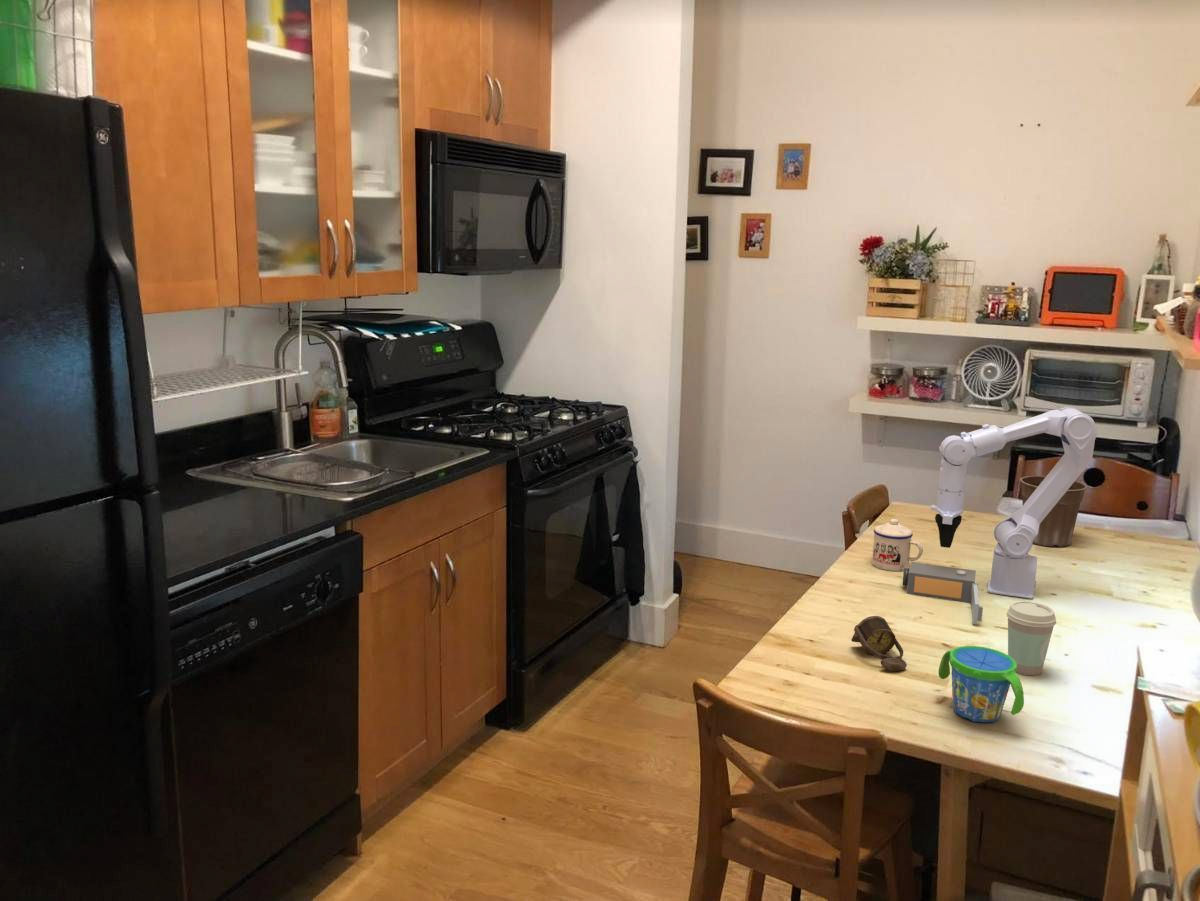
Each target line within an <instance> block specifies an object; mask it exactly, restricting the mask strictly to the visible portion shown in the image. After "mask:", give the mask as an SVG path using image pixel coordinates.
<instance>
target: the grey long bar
mask: <svg viewBox="0 0 1200 901" xmlns="http://www.w3.org/2000/svg"><path fill="white" fill-rule="evenodd" d="M978 588H979V583H977V582H975V583H972V591H971V600H970V603H969V604H971V615H972V617H971V618H972V624H973V625H978V622H982V620H983V619H982V618H983V610H984V607H983V606H982V605H980V599H979V589H978Z"/></svg>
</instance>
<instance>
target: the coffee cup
mask: <svg viewBox="0 0 1200 901" xmlns="http://www.w3.org/2000/svg"><path fill="white" fill-rule="evenodd" d="M1005 615H1006V617H1007V655H1009V656H1010V657H1011V658H1013V659H1014V660H1015V662H1016V663H1017V669H1016V674H1017V673H1018V674H1020V675H1025V676H1039V675H1040V674H1041V673H1042V671H1043V668H1044V664H1045V660H1046V657H1047V654H1048V649H1049V645H1050V642H1051V639H1052V638H1051V637H1052V634H1053V631H1054V626H1055V625H1057V618H1056V615H1055V611H1054V609H1053V608H1051V607H1049V606H1048V605H1045V604H1042V603H1039V602H1034V601H1023V600H1022V601H1021V600H1019V601H1015V602H1012V603H1011V604H1010V606H1009V608H1008V609H1007V612H1006V614H1005Z"/></svg>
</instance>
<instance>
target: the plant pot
mask: <svg viewBox="0 0 1200 901" xmlns="http://www.w3.org/2000/svg"><path fill="white" fill-rule="evenodd" d="M1046 476H1047V475H1028V476H1022V477H1020V479H1019V482H1020V483H1021V495H1022V506H1023V505H1024V503H1025V502H1026V501H1027V500H1028V498H1029V497H1030V496H1031V495H1032V493H1033V492H1034V491H1035V490H1036V488H1037V487H1038V486H1039V485H1040V484H1041V482H1042V481H1043V480H1044V479H1045V477H1046ZM1087 489H1088V486H1087V485H1086V483H1084V482H1081V481H1077V480H1075V482H1074V483H1073V484H1072V485H1071V486H1070V488H1069V489H1068V490H1067V491H1066V493H1065V494H1064V495H1063V496H1062V497H1061V499H1060V500H1059V501H1058V502H1057V504H1056V505H1055V506H1054V507H1053V508H1052V510H1051V511H1050V512H1049V513H1048V515H1047V516H1046V517H1045V518H1044V519H1043V521H1042V522H1041V523H1040V525H1039V530H1038V534H1037V536H1036V537H1035V539H1034V540H1033V543H1032V545H1033V544H1034V545H1038V546H1044V547H1045V546H1046V547H1054V546H1057V547H1060V548H1062V547H1067V546H1070V545H1071V544H1072V539H1073V534H1074V531H1075V527H1076V526H1075V525H1076V523H1077V519H1078V515H1079V509H1080V506H1081V503H1082V502H1083V498H1084V494H1085V491H1087Z"/></svg>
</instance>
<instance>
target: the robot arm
mask: <svg viewBox="0 0 1200 901" xmlns="http://www.w3.org/2000/svg"><path fill="white" fill-rule="evenodd" d="M981 427H982V428H979V429H976V430H973V431H970V432H966V431H962V432H960V435H949V436H947V437H946V438H945V439H943V441H941V443H940V445H939V447H938V449H939V452H940V454H941V456H942V457H941V461H940V468H939V476H938V477H939V478H938V485H937V486H938V487H937V495H936V504H931V505H930V510H931V511H935V512H936V513H935V517H934V520H935V523H936V525H937V530H938V535H939V536H938V537H939V546H940V547H941V548H946V549H950V548H951V547H952V544H953V541H954V537H955V534H956V531H957V530H958V528H959V526H960V525H961V523H962V519H963V518H962V514H964V510H965V509H964V501H965V492H966V491H965V490H966V481H967V473H968V472H967V467H968V463H969V462H970V460H971V459H972V458H973V459H975V458H978V457H981V456H984V455H988V454H992V453H993V452H997V451H1001V450H1003V448H1004V447H1005V445H1006V444H1007V443H1009V442H1012V441H1016V440H1020V439H1024V438H1029V437H1033V436H1036V435H1041V434H1048V435H1052V436H1056V437H1060V439H1061V443H1062V448H1063V451H1064V454H1063V455H1062V456H1061V458H1059V460H1058V461H1057V462H1056V463H1055V465H1054V466H1053V468H1052V469H1051V470H1050V471H1049V473H1048V474H1047V475H1045V476H1046V477H1045V479H1044V480H1043V481H1042V482H1041V484H1040V485H1039V486H1038V487H1037V488H1036V490H1035V491H1034V492H1033V493H1032V495H1031V496H1030V497H1029V498H1028V500H1027V501H1026V502H1025V503H1024V505H1023V504H1022V506H1021V507H1020V508H1019V509H1017V510H1016V511H1013V512H1012V513H1011V514H1009V516H1008V517H1007V518H1005V519H1003V520H1001V521H1000V522H998V523H997V524H996V526H995V527H994V529H993V536H994V539H995V540H996V541H997V544H996V546H995V547H994V549H993V556H992V564H991V565H992V566H991V574H990V579H989V580H988V581H987V593H988V594H996V595H1002V596H1010V597H1018V598H1024V599H1031V600H1032V599H1034V593H1035V589H1036V585H1037V584H1036V583H1037V581H1036V575H1037V569H1038V568H1037V567H1038V557H1037V556H1036V555H1030V554H1029V553H1030V551H1031V550H1032V548H1033V540H1034V539H1035V537H1036V536H1037V534H1038V530H1039V525H1040V523H1041V522H1042V521H1043V519H1044V518H1045V517H1046V516H1047V515H1048V513H1049V512H1050V511H1051V510H1052V508H1053V507H1054V506H1055V505H1056V504H1057V502H1058V501H1059V500H1060V499H1061V497H1062V496H1063V495H1064V494H1065V493H1066V491H1067V490H1068V489H1069V488H1070V486H1071V485H1072V484H1073V483H1074V482H1075V481H1077V479H1078V478H1079V477H1080V475H1081V474H1082V473H1083V472H1084V470H1085V469H1086V468H1087V467H1088V466H1089V464H1091V462H1092V460H1093V457H1094V456H1093V455H1094V449H1095V442H1096V441H1095V440H1096V439H1097V437H1098V435H1099V432H1098V430H1097V426H1096V423H1095V421H1094V419H1093V418H1092V416H1090V415H1089V414H1086V413H1084V412H1082V411H1080V410H1079V409H1078V408H1076V407H1073V406H1065V407H1062V408H1060V409H1051V410H1049V411H1045V412H1044V413H1040V414H1038V415H1035V416H1033V417H1030V418H1026V419H1023V420H1021V421H1018V422H1014V423H1012V424H1009V425H1007V426H1005V427H1000V426H999V427H998V425H996V424H992V425H989V424H988V423H986V424H982V425H981Z"/></svg>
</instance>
